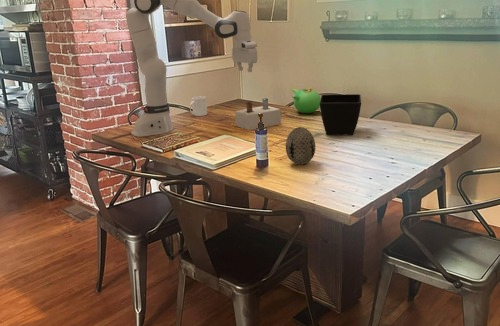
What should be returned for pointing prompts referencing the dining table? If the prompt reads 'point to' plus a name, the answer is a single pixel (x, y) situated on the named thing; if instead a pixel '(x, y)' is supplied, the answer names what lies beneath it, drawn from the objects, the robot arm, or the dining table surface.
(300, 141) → the decorative egg
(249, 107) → the walnut plug
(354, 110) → the flower pot
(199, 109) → the mug
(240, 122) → the socket block
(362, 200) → the dining table surface
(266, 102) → the metal plug
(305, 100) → the green teapot
